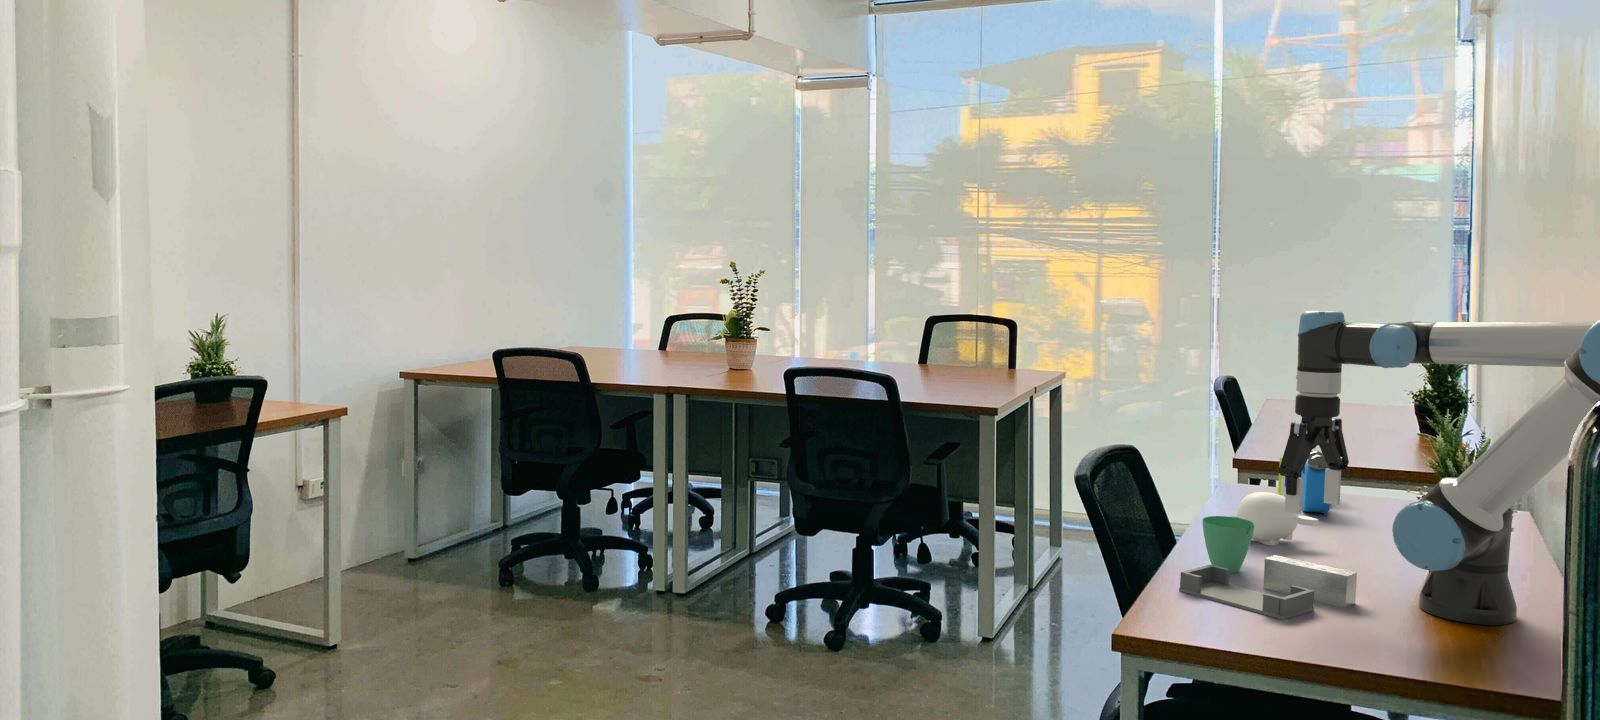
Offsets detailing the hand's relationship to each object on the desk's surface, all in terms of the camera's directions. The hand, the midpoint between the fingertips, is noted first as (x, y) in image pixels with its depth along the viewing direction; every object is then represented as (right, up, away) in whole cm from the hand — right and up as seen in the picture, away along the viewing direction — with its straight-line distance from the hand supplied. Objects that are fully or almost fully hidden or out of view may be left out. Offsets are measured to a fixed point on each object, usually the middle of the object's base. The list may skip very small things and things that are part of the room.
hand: (1312, 508), depth 215 cm
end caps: (-14, -17, -3) cm, 22 cm away
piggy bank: (+10, -13, +42) cm, 45 cm away
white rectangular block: (0, -17, +1) cm, 17 cm away
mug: (-8, -15, +20) cm, 26 cm away
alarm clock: (+33, -11, +74) cm, 82 cm away
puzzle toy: (+38, -9, +92) cm, 99 cm away
